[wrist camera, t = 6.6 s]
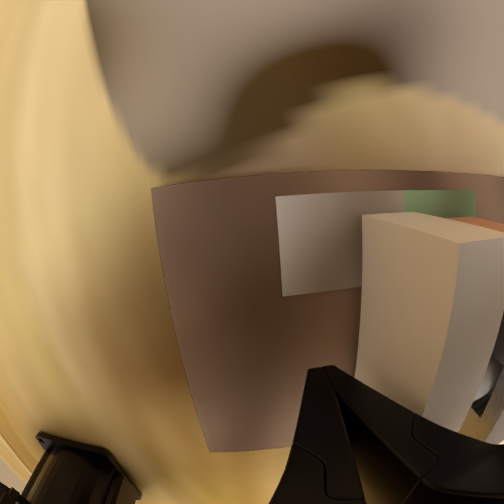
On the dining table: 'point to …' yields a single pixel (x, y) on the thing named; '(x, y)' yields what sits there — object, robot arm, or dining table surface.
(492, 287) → the plunger
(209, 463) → the dining table surface
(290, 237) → the base
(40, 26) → the dining table surface
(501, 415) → the notched steel block
